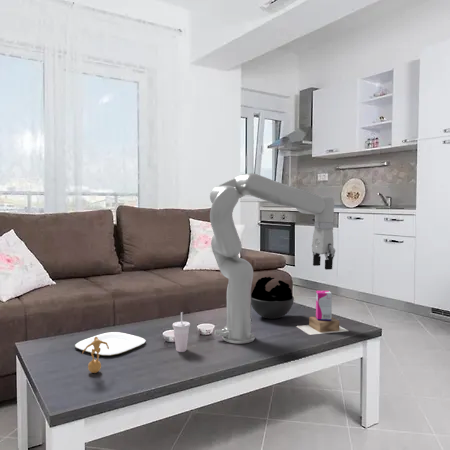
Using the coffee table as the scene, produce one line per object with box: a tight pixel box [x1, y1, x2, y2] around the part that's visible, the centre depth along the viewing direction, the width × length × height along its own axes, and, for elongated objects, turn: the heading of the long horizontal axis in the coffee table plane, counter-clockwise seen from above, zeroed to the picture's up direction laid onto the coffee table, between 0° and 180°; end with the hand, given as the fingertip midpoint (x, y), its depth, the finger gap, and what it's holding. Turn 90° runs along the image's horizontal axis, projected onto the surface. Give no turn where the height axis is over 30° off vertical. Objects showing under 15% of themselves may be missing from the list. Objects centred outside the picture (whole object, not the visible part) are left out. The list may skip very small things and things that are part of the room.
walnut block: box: [308, 315, 341, 332], centre depth 184 cm, size 9×9×4 cm
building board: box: [295, 324, 349, 336], centre depth 184 cm, size 18×12×1 cm, turn 108°
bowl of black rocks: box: [251, 276, 295, 320], centre depth 201 cm, size 20×20×19 cm
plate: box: [74, 331, 147, 357], centre depth 163 cm, size 22×22×2 cm
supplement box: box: [315, 290, 333, 321], centre depth 184 cm, size 6×6×12 cm
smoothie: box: [172, 311, 191, 353], centre depth 159 cm, size 6×6×14 cm
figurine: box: [82, 337, 109, 374], centre depth 137 cm, size 8×6×12 cm
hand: (322, 267), depth 183 cm, fingers open, 9 cm apart
